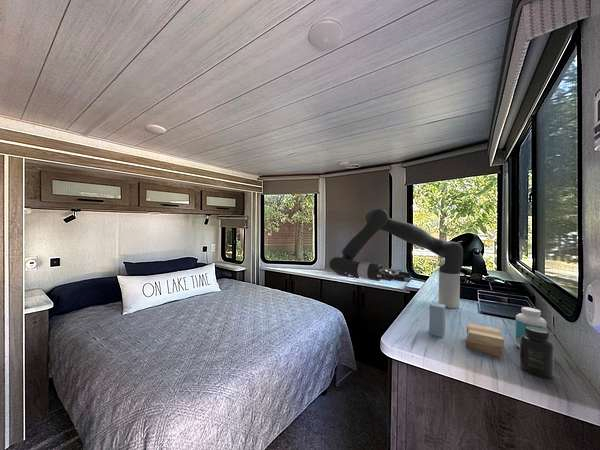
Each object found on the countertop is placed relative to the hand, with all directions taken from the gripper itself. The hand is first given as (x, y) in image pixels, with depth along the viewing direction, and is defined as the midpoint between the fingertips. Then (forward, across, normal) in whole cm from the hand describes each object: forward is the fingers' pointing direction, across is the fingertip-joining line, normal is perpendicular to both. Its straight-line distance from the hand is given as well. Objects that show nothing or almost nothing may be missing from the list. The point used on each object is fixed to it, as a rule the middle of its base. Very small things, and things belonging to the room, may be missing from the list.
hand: (407, 277), depth 96 cm
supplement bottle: (+37, -7, +20) cm, 43 cm away
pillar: (+11, 0, +20) cm, 23 cm away
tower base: (+25, 0, +20) cm, 32 cm away
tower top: (+25, 0, +17) cm, 30 cm away
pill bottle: (+37, +9, +20) cm, 43 cm away
